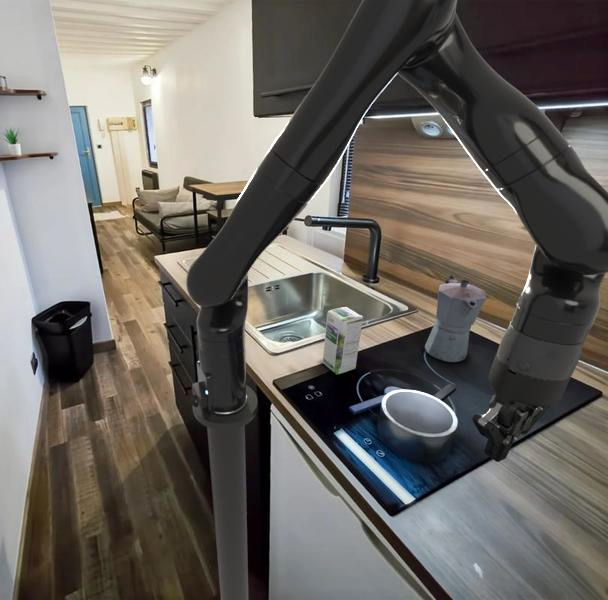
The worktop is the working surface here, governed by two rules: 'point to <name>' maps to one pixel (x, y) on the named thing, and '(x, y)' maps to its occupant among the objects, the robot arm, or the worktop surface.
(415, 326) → the worktop surface
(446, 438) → the saucepan
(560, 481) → the worktop surface
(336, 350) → the syrup box
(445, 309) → the moka pot
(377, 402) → the spoon
